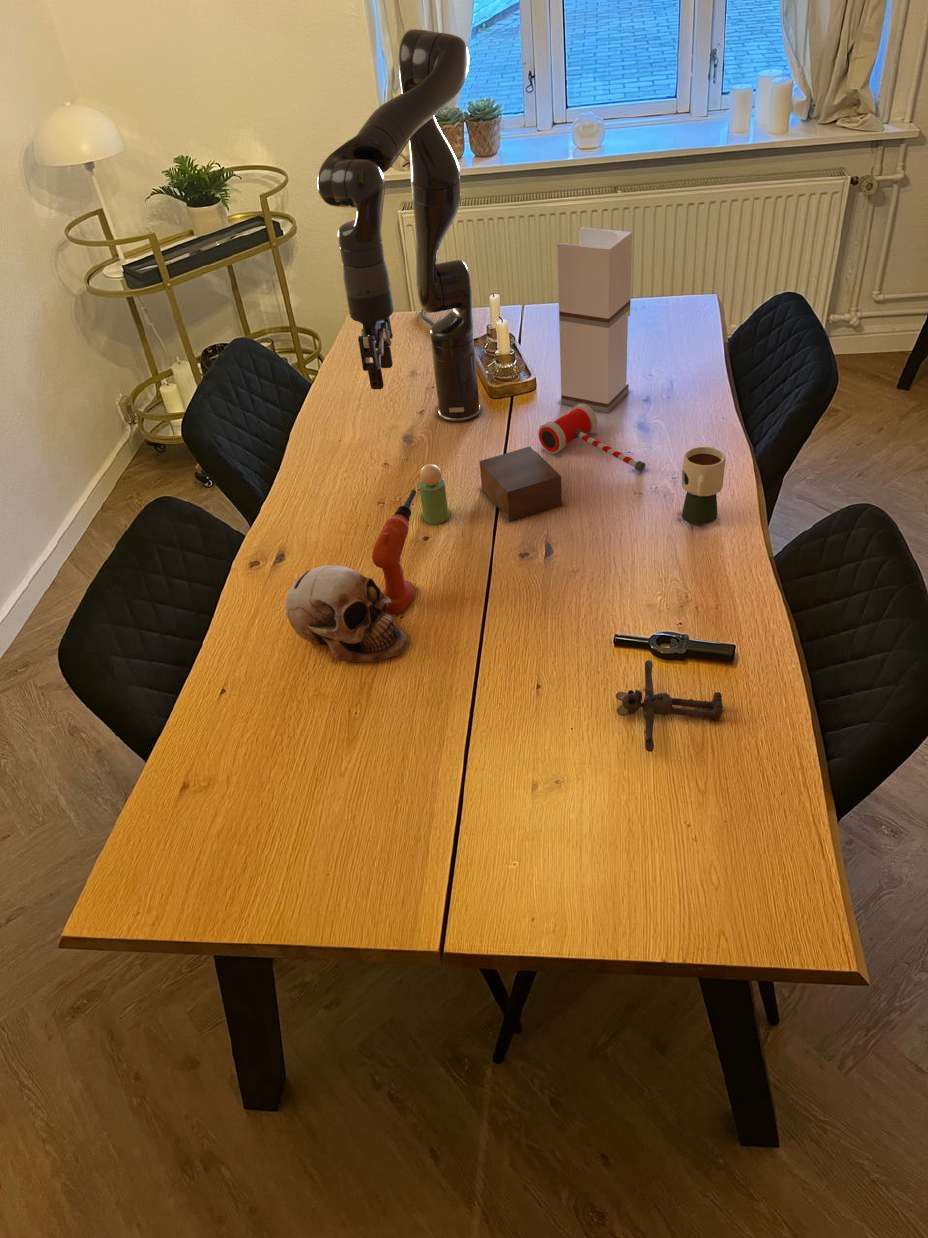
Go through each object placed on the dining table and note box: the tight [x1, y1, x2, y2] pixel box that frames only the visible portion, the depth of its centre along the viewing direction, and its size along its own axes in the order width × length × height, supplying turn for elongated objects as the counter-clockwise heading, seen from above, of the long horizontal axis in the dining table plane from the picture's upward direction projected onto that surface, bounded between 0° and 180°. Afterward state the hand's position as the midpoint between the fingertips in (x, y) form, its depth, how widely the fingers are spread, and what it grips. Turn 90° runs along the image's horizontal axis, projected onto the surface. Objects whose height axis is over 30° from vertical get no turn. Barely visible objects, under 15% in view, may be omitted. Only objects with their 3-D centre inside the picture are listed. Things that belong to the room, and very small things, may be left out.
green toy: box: [418, 463, 450, 525], centre depth 173 cm, size 5×5×11 cm
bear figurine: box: [615, 659, 724, 753], centre depth 131 cm, size 18×4×14 cm
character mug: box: [681, 445, 727, 525], centre depth 164 cm, size 11×7×13 cm, turn 164°
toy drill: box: [371, 489, 417, 614], centre depth 156 cm, size 5×19×15 cm, turn 163°
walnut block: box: [479, 445, 563, 522], centre depth 177 cm, size 13×11×6 cm
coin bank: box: [285, 564, 408, 663], centre depth 148 cm, size 16×17×13 cm
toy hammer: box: [537, 404, 646, 473], centre depth 187 cm, size 23×12×6 cm, turn 44°
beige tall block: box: [556, 226, 633, 414], centre depth 197 cm, size 11×11×35 cm
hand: (382, 377), depth 165 cm, fingers open, 8 cm apart
